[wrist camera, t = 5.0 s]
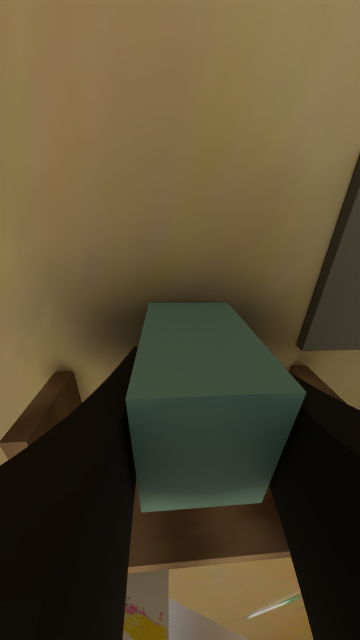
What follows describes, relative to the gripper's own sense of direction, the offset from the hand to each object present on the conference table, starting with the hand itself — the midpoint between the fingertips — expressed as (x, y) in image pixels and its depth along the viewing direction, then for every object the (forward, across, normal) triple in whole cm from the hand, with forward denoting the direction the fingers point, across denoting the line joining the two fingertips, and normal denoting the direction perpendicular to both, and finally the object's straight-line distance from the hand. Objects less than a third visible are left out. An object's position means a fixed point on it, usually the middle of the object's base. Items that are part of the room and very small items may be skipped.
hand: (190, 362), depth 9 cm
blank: (+2, 0, 0) cm, 2 cm away
